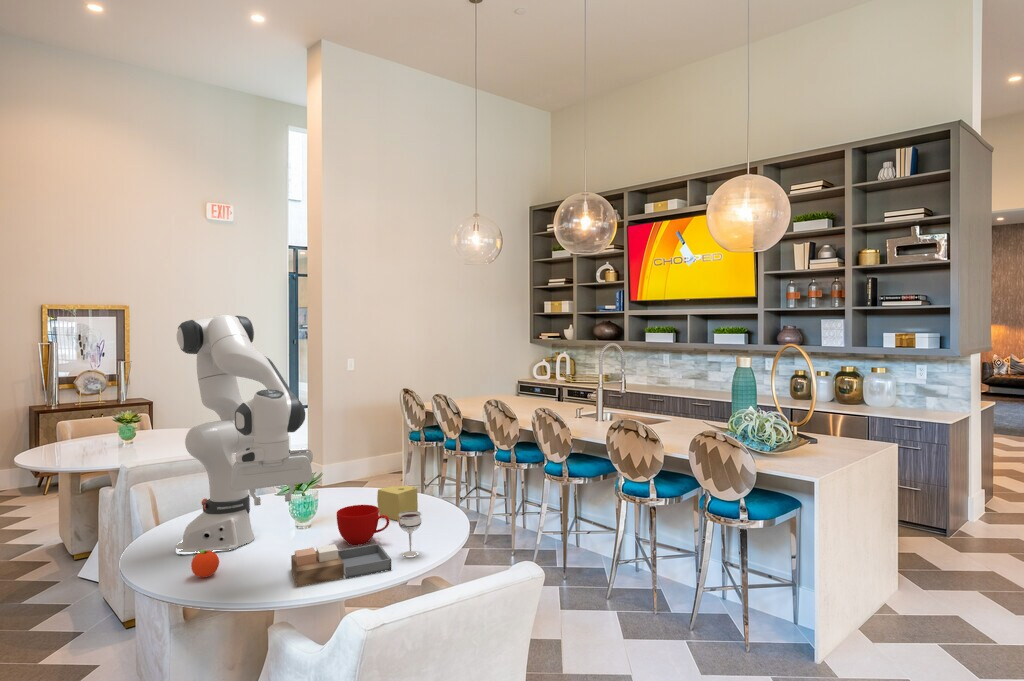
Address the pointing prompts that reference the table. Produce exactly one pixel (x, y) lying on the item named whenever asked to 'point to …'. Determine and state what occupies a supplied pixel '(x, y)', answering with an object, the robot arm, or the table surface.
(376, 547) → the tray
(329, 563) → the walnut block
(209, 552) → the clementine
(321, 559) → the tile
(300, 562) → the tile
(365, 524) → the ceramic cup
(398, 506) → the cheese
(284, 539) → the table surface
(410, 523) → the wineglass
